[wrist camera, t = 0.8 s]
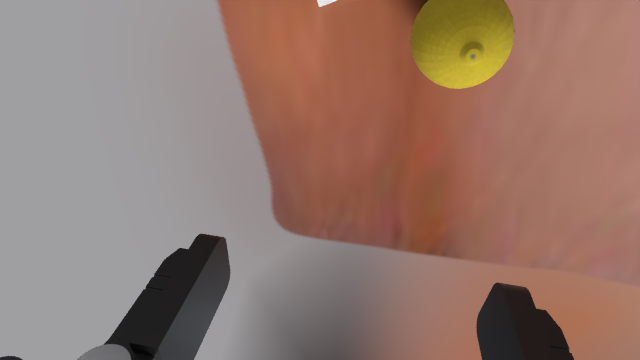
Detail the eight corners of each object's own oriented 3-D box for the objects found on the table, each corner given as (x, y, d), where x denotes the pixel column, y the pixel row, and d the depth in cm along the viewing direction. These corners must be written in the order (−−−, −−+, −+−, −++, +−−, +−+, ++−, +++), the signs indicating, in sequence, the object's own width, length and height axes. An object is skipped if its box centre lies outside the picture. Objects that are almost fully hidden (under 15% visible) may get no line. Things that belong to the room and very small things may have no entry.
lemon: (392, 11, 24) (396, 39, 18) (473, -44, 22) (512, -34, 15) (428, 78, 26) (443, 126, 20) (505, 36, 24) (551, 73, 18)
